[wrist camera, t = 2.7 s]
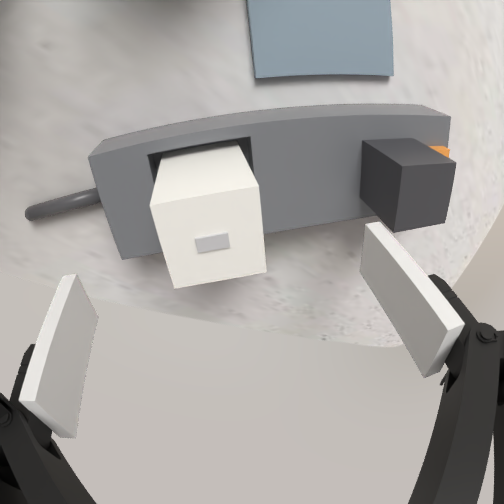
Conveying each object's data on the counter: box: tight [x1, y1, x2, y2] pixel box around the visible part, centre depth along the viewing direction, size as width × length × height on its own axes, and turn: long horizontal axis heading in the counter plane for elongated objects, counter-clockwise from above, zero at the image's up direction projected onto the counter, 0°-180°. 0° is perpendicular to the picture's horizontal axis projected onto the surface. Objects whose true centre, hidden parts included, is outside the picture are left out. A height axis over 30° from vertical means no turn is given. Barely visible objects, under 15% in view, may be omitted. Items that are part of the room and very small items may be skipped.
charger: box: [150, 140, 267, 289], centre depth 19 cm, size 5×5×8 cm
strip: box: [25, 104, 456, 260], centre depth 20 cm, size 35×8×9 cm, turn 96°
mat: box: [246, 0, 394, 78], centre depth 17 cm, size 11×11×1 cm
